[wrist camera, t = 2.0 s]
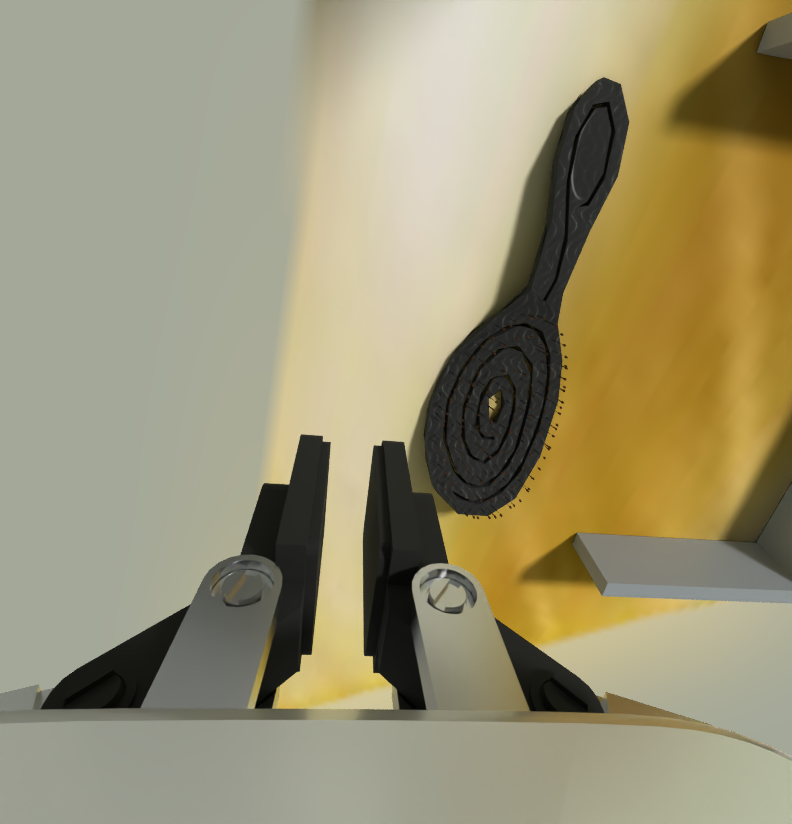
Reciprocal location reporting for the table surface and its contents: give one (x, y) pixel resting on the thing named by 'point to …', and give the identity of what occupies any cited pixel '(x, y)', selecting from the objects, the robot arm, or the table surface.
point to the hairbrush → (524, 329)
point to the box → (692, 558)
